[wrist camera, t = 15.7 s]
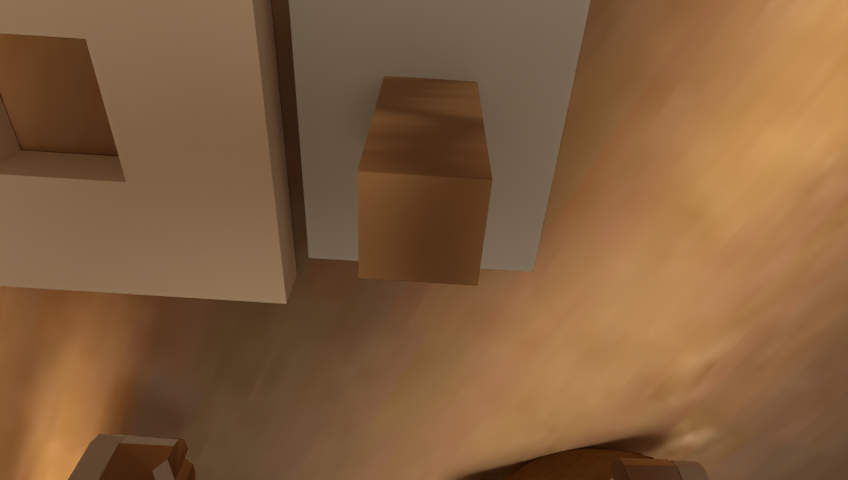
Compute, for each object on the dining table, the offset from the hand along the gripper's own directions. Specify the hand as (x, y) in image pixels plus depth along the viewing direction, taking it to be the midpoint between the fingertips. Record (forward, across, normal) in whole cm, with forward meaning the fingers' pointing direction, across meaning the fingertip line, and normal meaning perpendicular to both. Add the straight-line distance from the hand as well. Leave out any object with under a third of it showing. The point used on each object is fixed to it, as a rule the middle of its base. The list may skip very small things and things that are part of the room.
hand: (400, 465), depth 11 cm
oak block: (+17, 0, 0) cm, 17 cm away
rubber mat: (+18, 0, 0) cm, 18 cm away
